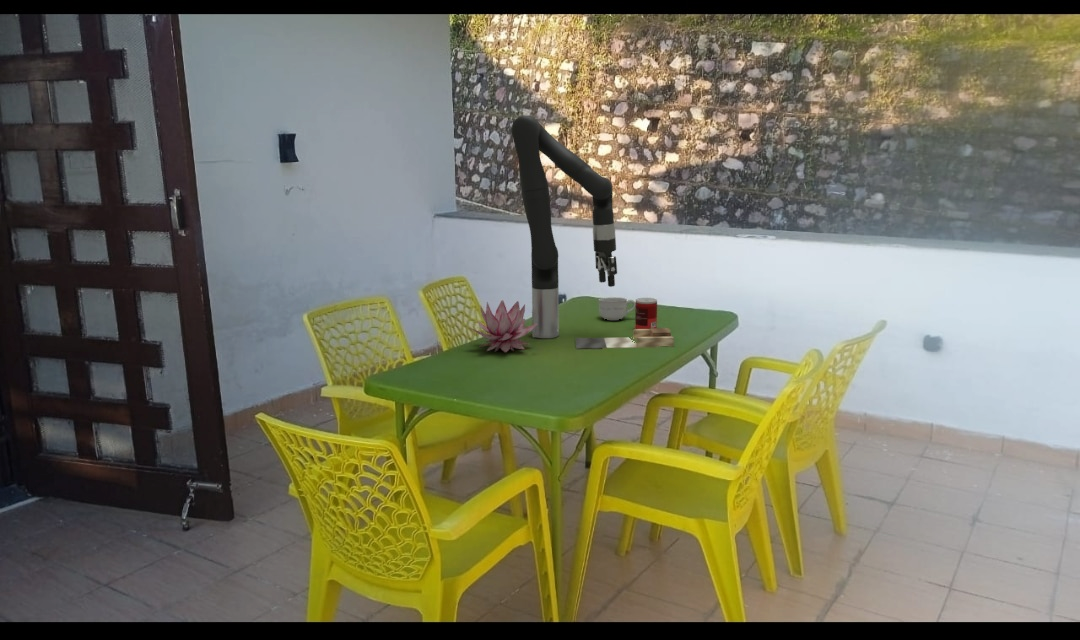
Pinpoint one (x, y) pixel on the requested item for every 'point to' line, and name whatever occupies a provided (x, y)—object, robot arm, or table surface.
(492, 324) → the decorative flower
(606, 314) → the teacup
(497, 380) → the table surface
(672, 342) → the corridor track
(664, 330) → the walnut block
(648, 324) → the canned food
